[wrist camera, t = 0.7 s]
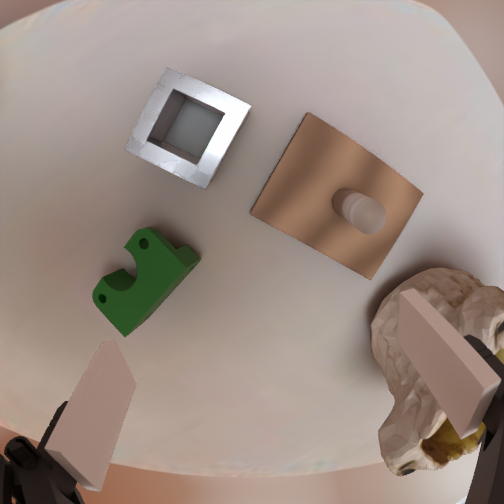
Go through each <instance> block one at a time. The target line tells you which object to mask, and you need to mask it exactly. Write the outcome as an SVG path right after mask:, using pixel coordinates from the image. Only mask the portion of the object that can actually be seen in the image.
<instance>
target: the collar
mask: <svg viewBox="0 0 504 504" xmlns="http://www.w3.org/2000/svg"><path fill="white" fill-rule="evenodd" d="M185 99H188V100H190V101H192V102H194V103H196V104H199V105H201V106H203V107H205V108H207V109H209V110H211V111H213V112H215V113H217V114H219V115H221V116H224V117H223V119H222V121H221V122H220V124H219V126H218V128H217V130H216V131H215V133H214V135H213V137H212V139H211V141H210V142H209V144H208V146H207V148H206V150H205V152H204V154H203V156H202V157H201V159H198V158H196V157H194V156H192V155H190V154H188V153H186V152H184V151H182V150H180V149H178V148H176V147H174V146H172V145H170V144H168V143H166V142H164V139H165V137H166V135H167V133H168V131H169V129H170V127H171V125H172V123H173V121H174V119H175V117H176V115H177V114H178V112H179V110H180V108H181V106H182V104H183V103H184V101H185ZM250 108H251V105H249V104H247V103H245V102H243V101H241V100H239V99H237V98H235V97H233V96H231V95H229V94H227V93H224V92H222V91H220V90H218V89H216V88H214V87H212V86H210V85H207V84H205V83H203V82H201V81H199V80H196V79H194V78H192V77H189V76H187V75H185V74H182V73H180V72H178V71H175V70H173V69H170V68H168V67H167V68H166V70H165V71H164V73H163V75H162V76H161V78H160V80H159V82H158V84H157V85H156V87H155V89H154V91H153V93H152V94H151V96H150V98H149V100H148V102H147V104H146V106H145V108H144V110H143V112H142V114H141V116H140V118H139V120H138V122H137V124H136V126H135V128H134V130H133V132H132V134H131V136H130V138H129V140H128V143H127V145H126V147H125V149H124V150H126V151H128V152H130V153H132V154H134V155H136V156H138V157H140V158H142V159H144V160H146V161H148V162H150V163H153V164H155V165H157V166H159V167H161V168H163V169H165V170H167V171H169V172H171V173H173V174H175V175H177V176H179V177H181V178H183V179H185V180H187V181H189V182H191V183H193V184H195V185H197V186H199V187H201V188H203V189H206V188H207V186H208V185H209V184H210V183H211V182H212V180H213V178H214V176H215V174H216V172H217V170H218V169H219V167H220V165H221V163H222V161H223V159H224V157H225V156H226V154H227V152H228V150H229V148H230V147H231V145H232V143H233V141H234V139H235V138H236V136H237V134H238V132H239V130H240V129H241V127H242V125H243V123H244V122H245V120H246V118H247V116H248V115H249V113H250Z"/></svg>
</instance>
